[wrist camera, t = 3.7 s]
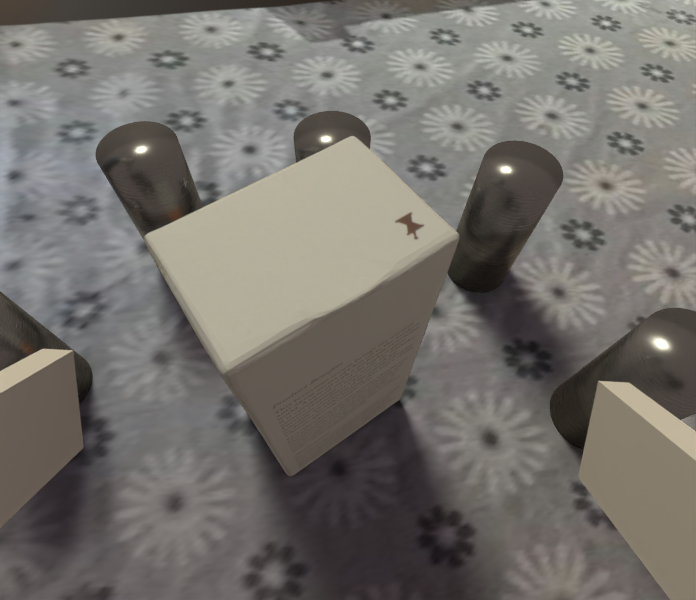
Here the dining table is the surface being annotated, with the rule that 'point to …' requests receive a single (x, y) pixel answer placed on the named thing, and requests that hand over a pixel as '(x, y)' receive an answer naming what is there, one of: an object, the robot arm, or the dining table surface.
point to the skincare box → (310, 293)
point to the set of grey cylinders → (465, 269)
